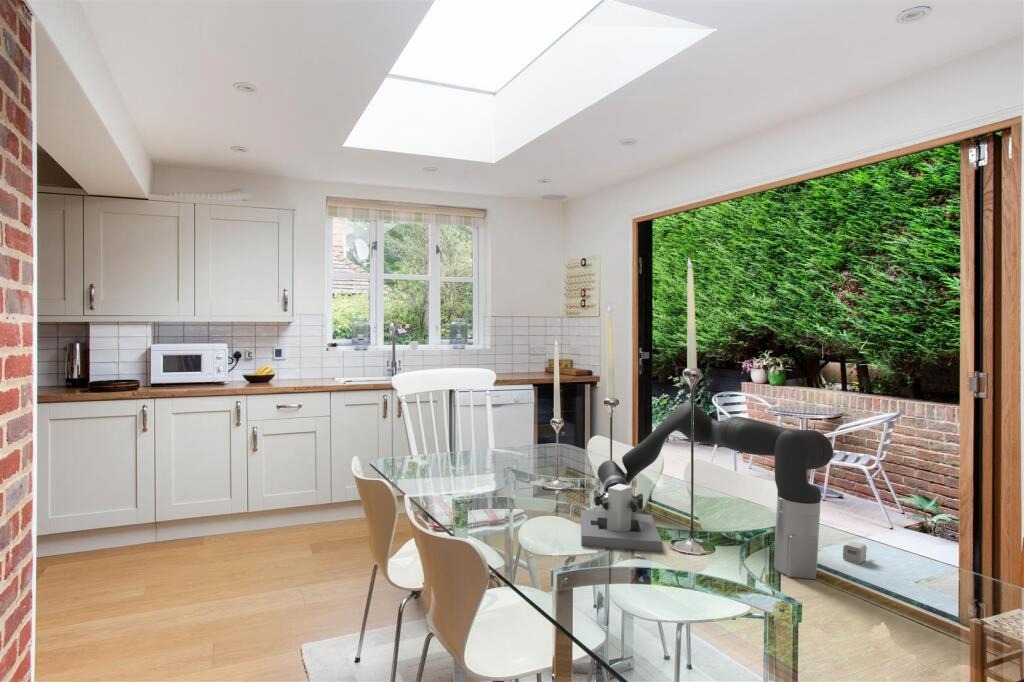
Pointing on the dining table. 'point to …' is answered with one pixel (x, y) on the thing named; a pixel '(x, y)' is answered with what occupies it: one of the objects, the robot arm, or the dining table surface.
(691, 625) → the dining table surface
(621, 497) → the skincare box
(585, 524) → the block
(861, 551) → the usb wall charger
